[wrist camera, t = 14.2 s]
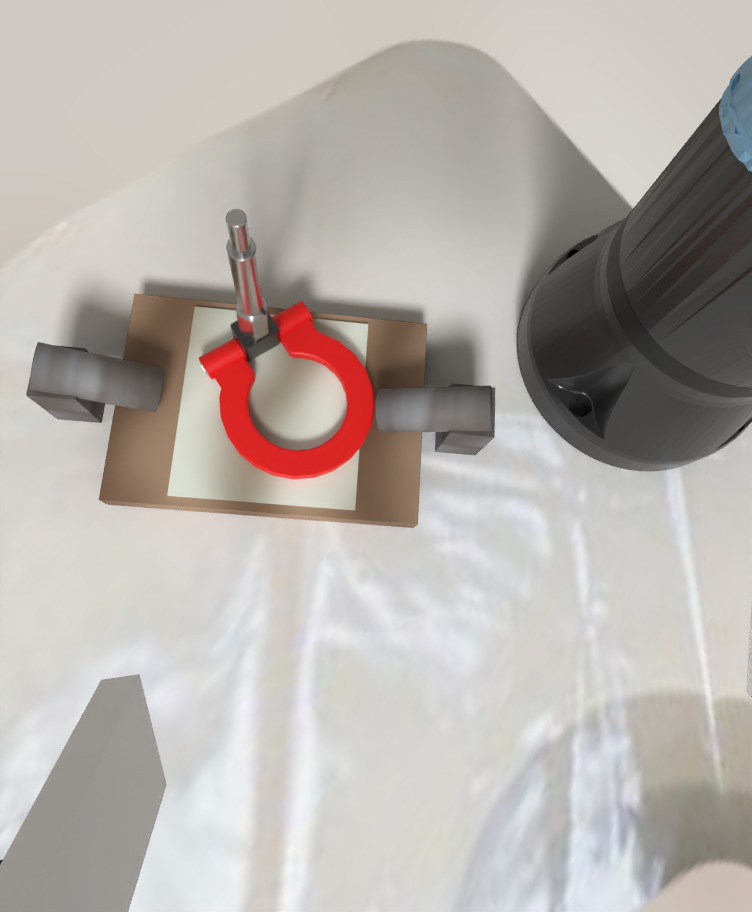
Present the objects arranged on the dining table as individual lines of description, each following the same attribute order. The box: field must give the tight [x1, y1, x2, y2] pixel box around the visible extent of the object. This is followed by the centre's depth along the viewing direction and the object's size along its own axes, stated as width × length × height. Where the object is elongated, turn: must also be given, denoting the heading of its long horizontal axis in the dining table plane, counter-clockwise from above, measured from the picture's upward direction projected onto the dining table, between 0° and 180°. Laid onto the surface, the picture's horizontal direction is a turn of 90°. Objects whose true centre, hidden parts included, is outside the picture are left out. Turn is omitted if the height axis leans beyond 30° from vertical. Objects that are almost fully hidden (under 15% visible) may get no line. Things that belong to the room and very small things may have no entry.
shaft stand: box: [26, 294, 495, 528], centre depth 34 cm, size 24×12×6 cm, turn 86°
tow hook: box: [199, 209, 375, 480], centre depth 29 cm, size 8×13×9 cm
